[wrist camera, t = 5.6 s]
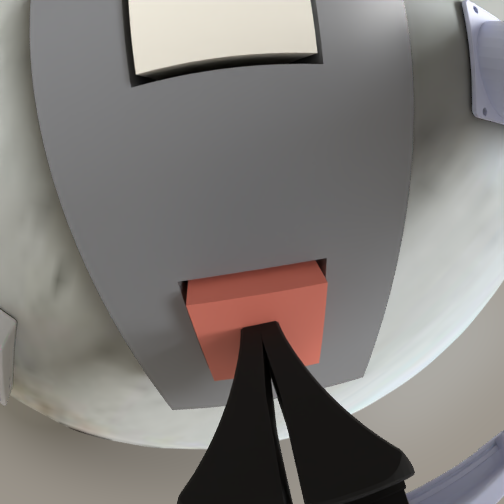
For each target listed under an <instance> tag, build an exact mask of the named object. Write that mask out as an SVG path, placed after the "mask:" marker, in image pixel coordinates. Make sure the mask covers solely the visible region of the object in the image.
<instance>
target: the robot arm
mask: <svg viewBox="0 0 504 504" xmlns="http://www.w3.org/2000/svg"><path fill="white" fill-rule="evenodd" d="M462 7H463V12H464V17H465V22H466V28H467V35H468V42H469V51H470V61H471V76H472V112H473V114H474V116H475V117H477V118H481V119H485V120H489V121H492V122H496V123H500V124H503V125H504V21H500V20H499V19H497V18H496V17H495V16H493V15H492V14H490V13H489V12H487V11H485V10H484V9H482V8H481V7H479V6H477V5H476V4H474V3H472V2H471V1H469V0H463V1H462ZM271 379H272V382H273V386H274V389H275V392H276V395H277V398H278V401H279V404H280V407H281V410H282V413H283V416H284V419H285V422H286V426H287V429H288V433H289V437H290V441H291V445H292V450H293V454H294V459H295V463H296V468H297V472H298V476H299V481H300V486H301V490H302V494H303V499H304V503H305V504H496V503H497V502H498V501H499V500H500V499H501V498H502V497H503V496H504V430H503V431H501V432H500V433H499V434H497V435H496V436H495V437H494V438H492V439H491V440H490V441H489V442H487V443H486V444H485V445H483V446H482V447H481V448H479V449H478V451H477V452H475V453H474V454H473V455H471V456H470V457H468V458H467V459H465V460H464V461H462V462H461V463H459V464H458V465H456V466H455V467H453V468H452V469H450V470H448V471H447V472H445V473H443V474H442V475H440V476H438V477H437V478H435V479H433V480H431V481H429V482H428V483H426V484H424V485H422V486H420V487H418V488H416V489H414V490H412V491H410V492H408V493H406V494H405V491H404V489H405V488H406V485H405V482H404V480H406V479H408V478H409V477H411V476H413V475H414V473H415V472H414V468H413V466H412V464H411V462H410V461H409V459H408V458H407V457H406V455H405V454H404V453H403V452H402V451H401V450H400V449H399V448H397V447H395V446H393V445H392V444H390V443H389V442H387V441H386V440H384V439H383V438H381V437H380V436H378V435H377V434H375V433H374V432H373V431H371V430H370V429H368V428H367V427H366V426H364V425H363V424H362V423H361V422H360V421H358V420H357V419H356V418H355V417H353V416H352V415H351V414H350V413H349V412H347V411H346V410H345V409H344V408H343V407H342V406H341V405H340V404H339V403H338V402H337V401H336V400H335V399H334V398H333V397H332V396H331V395H330V394H329V393H328V392H327V391H326V390H325V389H324V388H323V387H322V386H321V385H320V384H319V382H318V381H317V380H316V379H315V378H314V377H313V375H312V374H311V373H310V372H309V370H308V369H307V368H306V367H305V365H304V364H303V363H302V361H301V360H300V358H299V357H298V356H297V354H296V353H295V351H294V350H293V348H292V347H291V345H290V344H289V342H288V340H287V339H286V337H285V335H284V333H283V331H282V329H281V327H280V325H279V322H277V321H272V322H267V323H263V324H258V325H253V326H248V327H243V328H242V329H241V336H240V348H239V354H238V361H237V365H236V370H235V375H234V379H233V383H232V387H231V390H230V394H229V397H228V400H227V404H226V407H225V409H224V412H223V415H222V418H221V420H220V423H219V425H218V428H217V430H216V432H215V434H214V437H213V439H212V441H211V443H210V445H209V447H208V449H207V451H206V453H205V455H204V457H203V458H202V460H201V462H200V464H199V466H198V467H197V469H196V471H195V473H194V474H193V476H192V477H191V479H190V480H189V482H188V483H187V485H186V486H185V488H184V489H183V491H182V492H181V494H180V495H179V497H178V501H177V504H293V503H292V498H291V494H290V489H289V485H288V481H287V477H286V472H285V467H284V462H283V458H282V453H281V449H280V444H279V439H278V434H277V428H276V419H275V410H274V400H273V391H272V382H271Z"/></svg>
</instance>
